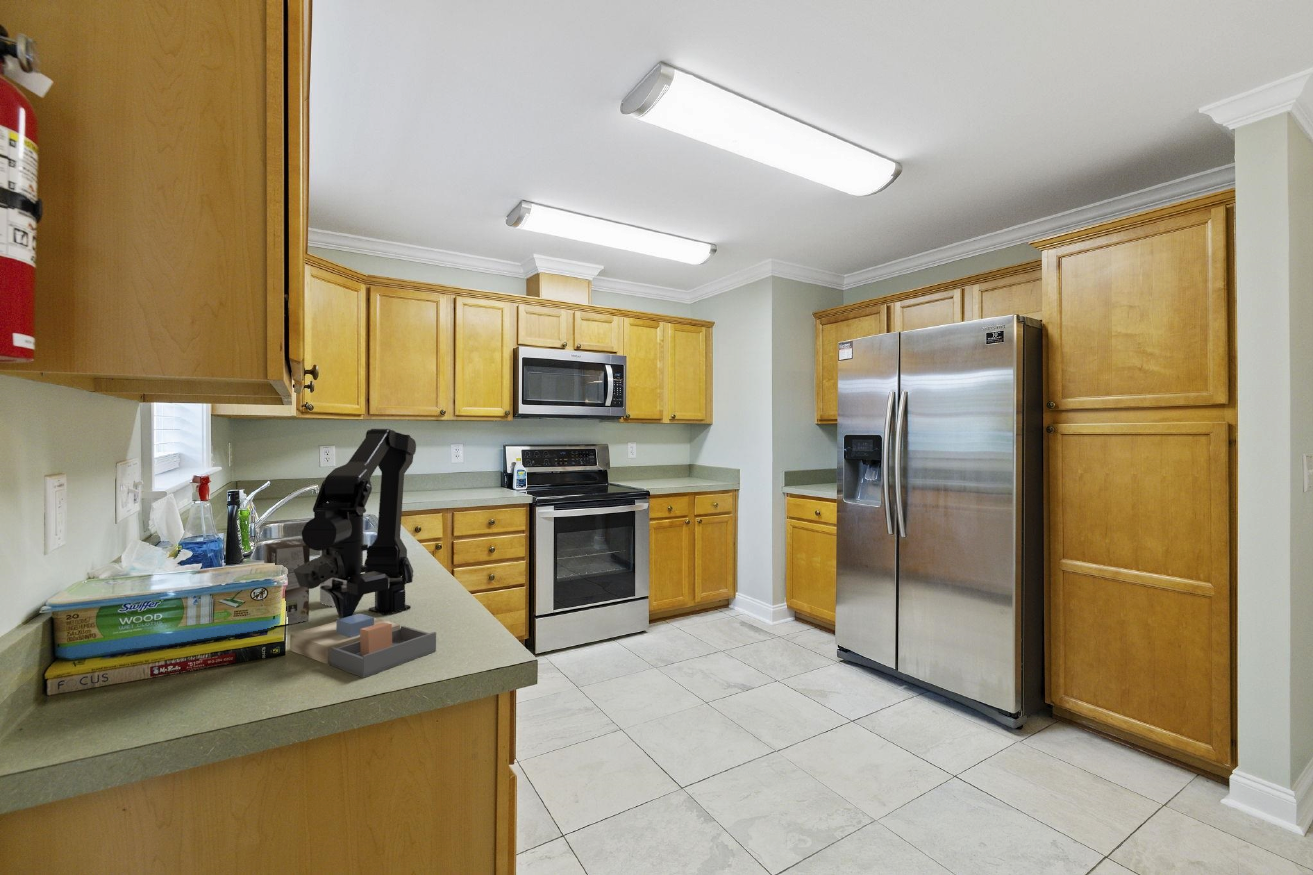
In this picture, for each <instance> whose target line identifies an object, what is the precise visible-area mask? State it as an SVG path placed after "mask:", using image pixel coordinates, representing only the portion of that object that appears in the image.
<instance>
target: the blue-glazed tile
mask: <svg viewBox="0 0 1313 875" xmlns="http://www.w3.org/2000/svg"><path fill="white" fill-rule="evenodd" d="M374 618H375V617H374V616H369V615H367V614H363V613H356V614H353V615H352V616H348V617H345V618H341V619H339V618H338V619H336V621H335V622H336V633H337V634H340V635H343V636H346V637H349V638H352V637H355V636H359V635H360V629H362V628H365V627H369V626H372V625H374Z"/></svg>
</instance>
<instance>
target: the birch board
mask: <svg viewBox="0 0 1313 875" xmlns="http://www.w3.org/2000/svg"><path fill="white" fill-rule="evenodd" d="M383 622H384V623H389V624H392V631H393V630H396V629H400V628H401V625H400V624H398V623H394V622H392V621H388V620H383V619H380V618H378V617H374V625H376V624H379V623H383ZM289 637H290V638H289V651H290V652H294V653H296V654H299V655H302V656H304V657H307V658H309V659H312V660H316V661H318V662H320V663H322V664H326V665H329V650H331V648H333V647H335V648H338V647H342V646H345V645H348V644H351V643H354V642H358V641H360V635H359V636H355V637H352V638H349V637H346V636H343V635H340V634H337V633H336V621H333V622H329V623H325V624H322V625H317V626H314V627H311V628H307V629H304V630H300V631H295V632H292V633H290V634H289Z"/></svg>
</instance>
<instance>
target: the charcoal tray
mask: <svg viewBox="0 0 1313 875" xmlns="http://www.w3.org/2000/svg"><path fill="white" fill-rule="evenodd" d="M435 652H437V632H436V631H432V632H426V631H423V630H420V629H416V628H413V627H409V626H405V625H400V629H396V630H393V631H392V646H390V647H387V648H384V649H381V650H378V651H375V652H373V653H370V654H367V655H361V649H360V641H358V642H354V643H351V644H348V645H345V646H342V647H338V648H335V647H333V648H331V650H329V664H328V665H329V666H331V667H333V668H336V669H339V670H343V671H345V672H347V673H350V674H353V675H356V676H358V677H360V678H368V677H371V676H373V675H376V674H379V673H381V672H384V671H387V670H390V669H392V668H394V667H397V666H399V665H404V664H405V663H408V662H411V661H414V660H417V659H418V658H422V657H424V656H427V655H430V654H433V653H435Z"/></svg>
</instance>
